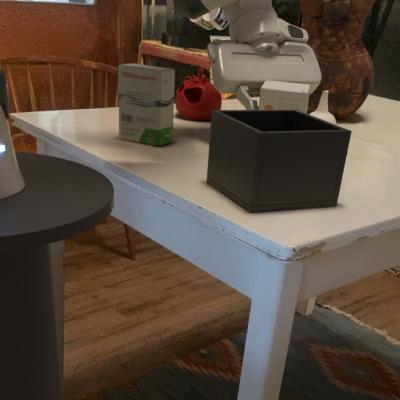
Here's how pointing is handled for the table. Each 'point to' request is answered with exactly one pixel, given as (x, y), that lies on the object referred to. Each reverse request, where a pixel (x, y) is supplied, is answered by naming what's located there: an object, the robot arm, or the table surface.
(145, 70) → the ink box
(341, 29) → the brown curved lobed piece
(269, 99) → the small box
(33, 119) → the table surface
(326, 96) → the garlic bulb
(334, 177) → the trash bin
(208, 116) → the pomegranate
